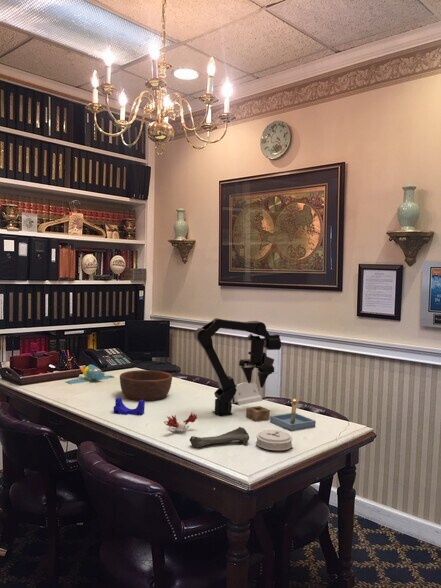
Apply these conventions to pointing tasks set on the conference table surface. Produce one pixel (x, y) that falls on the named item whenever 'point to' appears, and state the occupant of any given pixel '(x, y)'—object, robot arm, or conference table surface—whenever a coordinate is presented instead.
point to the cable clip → (122, 409)
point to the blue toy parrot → (90, 375)
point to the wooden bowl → (145, 384)
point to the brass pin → (293, 409)
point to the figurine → (180, 423)
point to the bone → (222, 438)
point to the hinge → (246, 393)
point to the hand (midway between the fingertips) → (255, 385)
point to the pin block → (257, 413)
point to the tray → (284, 422)
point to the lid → (274, 440)
